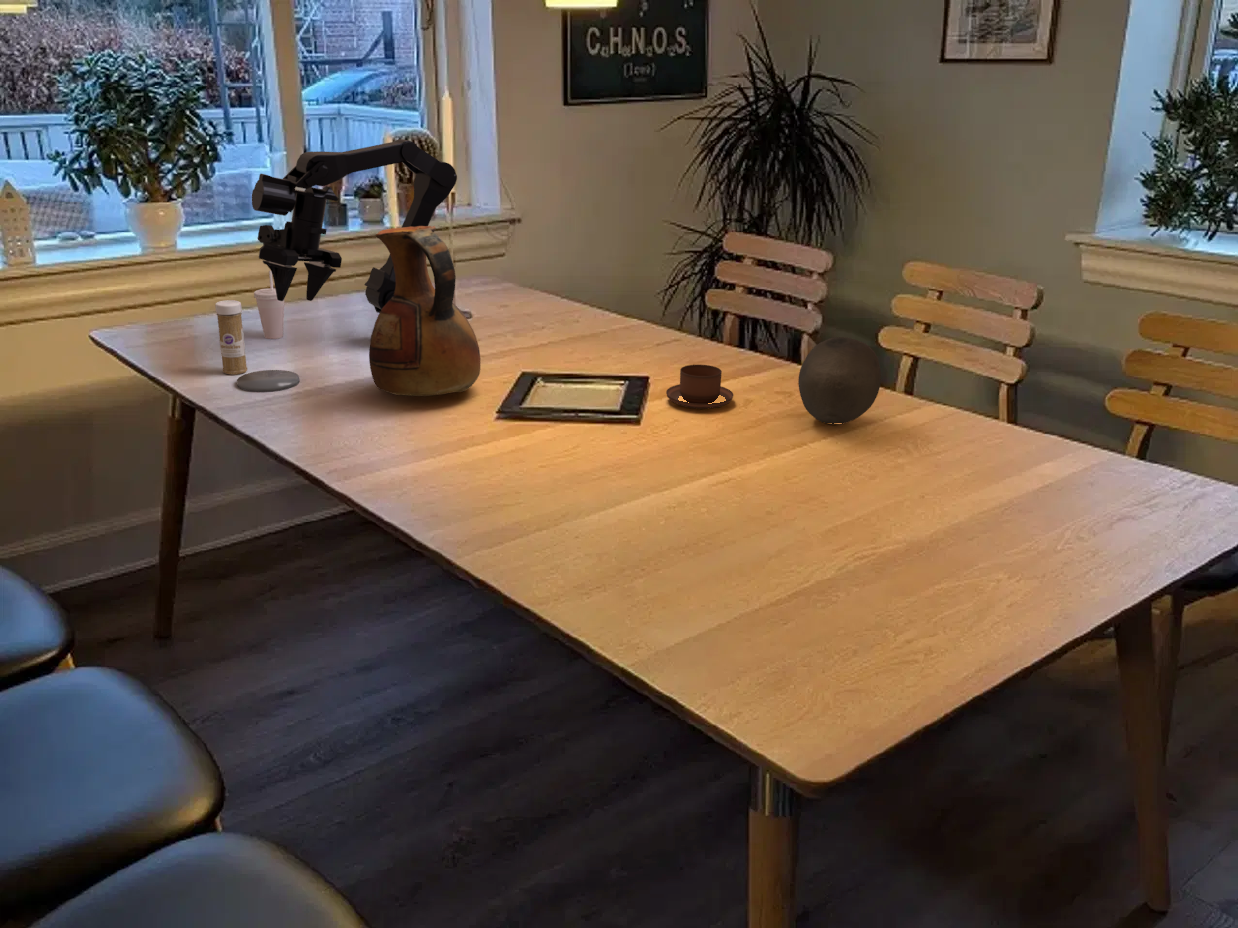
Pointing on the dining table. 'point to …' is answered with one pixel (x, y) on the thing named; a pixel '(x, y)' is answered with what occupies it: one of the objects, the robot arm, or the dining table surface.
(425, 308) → the ceramic pitcher
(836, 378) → the dark charcoal ball
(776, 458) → the dining table surface
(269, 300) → the smoothie
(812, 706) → the dining table surface
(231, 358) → the sprinkles bottle
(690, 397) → the cup and saucer
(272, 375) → the slate gray plate
